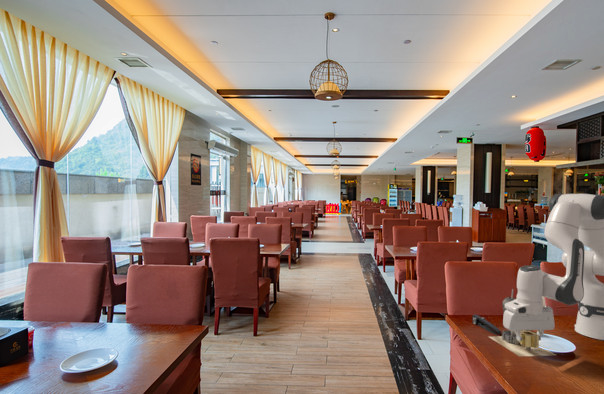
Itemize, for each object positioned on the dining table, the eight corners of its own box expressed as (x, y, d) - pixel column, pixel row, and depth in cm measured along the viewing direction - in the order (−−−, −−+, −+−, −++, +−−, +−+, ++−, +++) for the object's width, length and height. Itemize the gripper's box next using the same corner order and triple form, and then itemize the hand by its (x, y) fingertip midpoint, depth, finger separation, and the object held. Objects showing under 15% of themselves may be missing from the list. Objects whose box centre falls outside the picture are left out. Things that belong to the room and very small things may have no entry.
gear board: (521, 338, 146) (521, 325, 146) (556, 358, 128) (557, 343, 128) (488, 339, 144) (488, 325, 144) (519, 359, 127) (519, 344, 127)
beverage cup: (514, 327, 159) (515, 286, 159) (522, 333, 151) (523, 290, 151) (498, 326, 159) (499, 285, 159) (506, 332, 152) (507, 290, 152)
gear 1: (508, 335, 146) (508, 328, 146) (528, 342, 139) (528, 335, 139) (497, 338, 142) (498, 332, 142) (517, 346, 135) (517, 339, 135)
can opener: (468, 324, 162) (468, 312, 162) (481, 323, 163) (481, 312, 163) (492, 339, 145) (492, 327, 145) (507, 339, 145) (507, 326, 145)
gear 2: (529, 340, 136) (529, 329, 136) (542, 347, 129) (543, 336, 129) (514, 340, 135) (515, 330, 135) (527, 348, 129) (527, 337, 129)
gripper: (545, 303, 137) (545, 336, 137) (500, 304, 134) (500, 337, 134) (559, 308, 130) (558, 342, 130) (512, 309, 128) (511, 344, 128)
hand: (528, 340), depth 132 cm, fingers closed on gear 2, 6 cm apart
